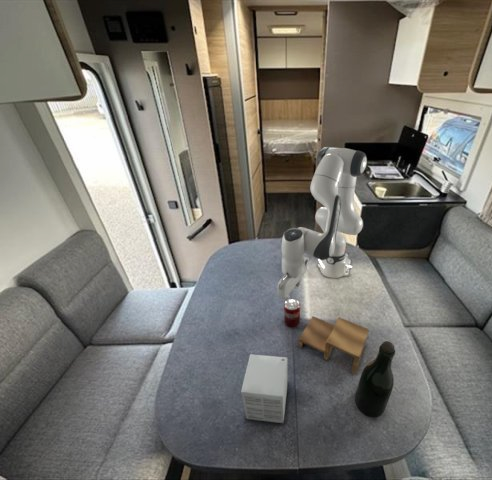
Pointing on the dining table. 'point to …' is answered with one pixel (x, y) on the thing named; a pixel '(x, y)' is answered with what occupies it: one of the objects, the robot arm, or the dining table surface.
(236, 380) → the dining table surface
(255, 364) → the supplement box
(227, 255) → the dining table surface
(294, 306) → the soda can
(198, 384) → the dining table surface
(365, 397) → the dark green wine bottle
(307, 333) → the step shelf
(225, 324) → the dining table surface
